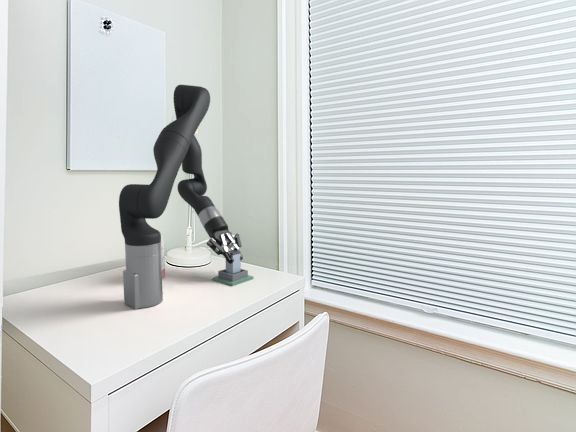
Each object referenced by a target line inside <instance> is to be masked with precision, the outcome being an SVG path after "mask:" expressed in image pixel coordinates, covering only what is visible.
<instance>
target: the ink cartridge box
mask: <svg viewBox="0 0 576 432" xmlns="http://www.w3.org/2000/svg"><path fill="white" fill-rule="evenodd" d="M161 256H162V279H164V277H165V276H166V261H165V260H166V259H165V257H166V256H165V241H164V236H163V235H161Z"/></svg>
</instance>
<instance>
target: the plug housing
mask: <svg viewBox="0 0 576 432" xmlns="http://www.w3.org/2000/svg"><path fill="white" fill-rule="evenodd" d="M228 252H230V254H231V256H232V257H233V259H234V262H233V263H231V264H229V263H228V262H227V260H226V259H225V269H226V272H229V273H232V274H234V273H237V272H240V271H241V269H242V267H241V266H242V265H241V263H242V262H241V261H242V260H240V256H241V254H242V251H241V250H239V251H236V250H231V249H230V250H228Z"/></svg>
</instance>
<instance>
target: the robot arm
mask: <svg viewBox="0 0 576 432" xmlns="http://www.w3.org/2000/svg"><path fill="white" fill-rule="evenodd" d="M210 95H211V93H210V92H209V90H208V89H207V88H205V87H203V86H199V85H190V84H178V85H176V86H175V88H174V91H173V108H174V113H175V120H173V121H171V122H170V123H168V124H167V125H166V126H165V127H163V128H162V130H161V131H160V133H159V134H158V137H157V138H156V140H155V142H154V145H153V157H154V160H155V164H156V168H157V169H156V173H155V175H154V178H153V179H152V181H151V183H150V184H142V183H141V184H140V183H139V184H138V183H136V184H135V183H130V184H127V185H124V186H123V188H122V189H121V191H120V193H119V197H118V210H119V211H118V212H119V220H120V231H121V234H122V236H123V238H124V251H125V254H124V255H125V269H124V270H123V271H122V282H123V284H122V285H123V300H124V301H123V303H124V304H125V305H126V306H127V307H129V308H131V309H134V310H137V309H143V308H144V309H145V308H150V307H153V306H157V305H159V304H160V303H162V302H163V297H164V296H163V295H164V291H163V278H162V256H161V236H162V234H161V232H160V230H158V229H156V228H154V227H152V226H151V225H149V223H148V222H147V221H146V219H148V220H149V219H150V220H151V219H152V220H153V219H155V220H156V219H158V218H160V217H161V216H162V215H163V214H164V212H165V210H166V209H167V207H168V206H167V205H168V204H169V200H170V196H171V194H172V190H173V187H174V183H175V180H176V178H177V175H178V172H179V171H180V169H181V170H182V172H183V173H185V174H187V175H188V174H189V175H193V178H187V179H182V180H180V181H179V182H178V183H177V192H178V194H179V196H180V197H181V198H182V200H183V201H184V202H186V204H188V205H189V206H190V207H191V208H192V209H193V211H194V212H195V213H196V216H197V217H198V219H199V222H200V224H201V225H202V227H203V229H204V230H205V232H206V234H207V235H208V237H209V239H208V240H207V242H206V246H208V247H209V248H210V249H211V250H212V251H213V252H214V253H215V254H216V255H218V256H220V255H221V256H223V257H224V259H225V261H226V260H227V262H228V263H229V264H231V263H233V262H234V259H233V257H232V256H231V254H230V252H228V251H229V250H230V251H231V250H236V251H240V249H241V248H242V247H243V245H242V241H241V236H240V234H239V233H236V234H234V233H232V231H230V230H229V225H228V223H227V222H226V221H225V219H224V217H223V216H222V214H221V213H220V211H219V210H218V209H217V207H216V205H215V204H214V203H213V201H212V199H211V198H210V196H206V195H205V194H206V192H207V190H208V185H207V181H206V179H205V175H204V171H203V153H202V152H203V151H202V148H201V145H200V143H199V140H198V139H197V137H196V134H195V133H197V130H198V128H199V126H200V125H201V123H202V122H203V120H204V118H205V116H206V114H207V113H208V111H209V108H210V105H211V96H210ZM243 258H244V256H243V254H242V253H241V256H240V260H241V261H242V260H243Z"/></svg>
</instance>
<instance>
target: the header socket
mask: <svg viewBox="0 0 576 432" xmlns="http://www.w3.org/2000/svg"><path fill="white" fill-rule="evenodd" d="M217 274H218V275H215V276H212V278H211V279H212V280H213V281H214V282H215V281H216V282H219V283H222V284H225V285H227V286H231V287H234V286H237V285H239V284H243V283H245V282H248V281H251V280H254V276H252V275H249V270H247V269H243V268H241V271H240V272H237V273H234V274H232V273H229V272H226V268H223V269H220V270H218V271H217Z"/></svg>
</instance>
